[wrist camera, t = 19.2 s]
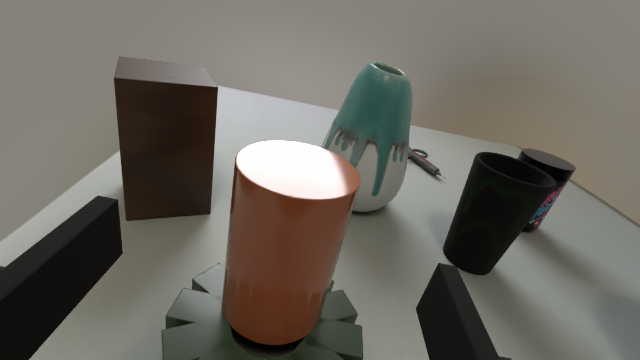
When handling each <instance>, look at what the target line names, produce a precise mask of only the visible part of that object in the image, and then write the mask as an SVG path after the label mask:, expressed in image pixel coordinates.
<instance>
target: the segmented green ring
mask: <svg viewBox="0 0 640 360" xmlns="http://www.w3.org/2000/svg"><path fill="white" fill-rule="evenodd" d="M224 274H225V267H224V266H223V265H221V264H220V263H218V264H216V265H215V266H213V267H211V268H210V269H208V270H206V271H205V272H203V273H201V274H200V275H198V276H196V277H195V278H193V279H192V290H191V289H186V288H183V289H182V290H181V292H180V294H179V295H178V297H177V299H176V300H175V302H174V303H173V305H172V307H171V308H170V310H169V312H168V313H167V315H166V329H164V330H162V360H362V359H363V341H362V326H360V325H355V324H354V323H355V321H356V318H357V315H358V314H357V312H356V310H355V309H354V307H353V306H352V304H351V302H350V301H349V299H348V298H347V296H346V294H345V293H344V291H343V290H338V291H333V292H331V290H332V287H333V284H334V281H333V280H331V284H330V287H329V290H328V294H327V297H326V300H325V304H324V307H323V310H322V314H321V317H320V319H319V322H318V323H317V325H316V326H315V328H314V329H313V330H312V331H311V332H310V333H309V334H307V335H306V336H305V337H303V338H301V339H299V340H297V343H298V346H297V347H296V348H295V349H294V350H293V351H292V352H290V353H287V354H284V355H280V356H277V357H274V358H266V357H261V356H256V355H251V354H249V353H248V352H246V351H245V350H244V349H243V348H242V347H241V346H240V345H239V344H237V343H236V342H235V341H234V338H233V333H234V332H235V330H234V329H233V328H232V326H231V325H230V324H229V322H228V321H227V319H226V317H225V315H224V312H223V308H222V295H223V285H224Z"/></svg>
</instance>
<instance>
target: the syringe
mask: <svg viewBox="0 0 640 360" xmlns="http://www.w3.org/2000/svg"><path fill="white" fill-rule="evenodd" d="M414 151H416V152H420V153H422V154H425V155H426V156H423V155H419V154H417V153H416V152H414ZM409 157H411V158H412V159H413V160H415V161H416V162H417V163H419V164H420V165H421V166H423V167H424V168H425V169H427V170H428V171H429V172H431V173H432V174H434V175H437V174H438V175H440V176H442V175H441V174H440V172H439V169H438V168H437V167H435V166H434V165H433V164H431V163H430V162H428V161H427V160H425V159H424V158H427V157H428V154H427V153H426V152H424V151H422V150H419V149H411V148H410V147H409V151H408V158H409ZM445 179H446V178H445Z"/></svg>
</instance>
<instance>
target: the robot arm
mask: <svg viewBox="0 0 640 360" xmlns="http://www.w3.org/2000/svg"><path fill="white" fill-rule="evenodd" d="M122 254H123V251H122V240H121V229H120V219H119V208H118V200H117V199H112V198H107V197H102V196H97V197H95V198H94V199H93V200H92V201H90V202H89V203H88V204H86V205H85V206H84V207H83V208H81V209H80V210H79V211H77V212H76V213H75V214H73V215H72V216H71V217H70V218H68V219H67V220H66V221H64V222H63V223H62V224H61V225H59V226H58V227H57V228H55V229H54V230H53V231H51V232H50V233H49V234H48V235H46V236H45V237H44V238H42V239H41V240H40V241H39V242H37V243H36V244H35V245H33V246H32V247H31V248H29V249H28V250H27V251H26V252H24V253H23V254H22V255H20V256H19V257H18V258H17V259H15V260H14V261H13V262H11V263H10V264H9V265H7V266H6V267H2V266H0V360H29V359H30V358H31V357H32V355H33V354H34V353H35V352H36V351H37V350H38V349H39V347H40V346H41V345H42V344H43V343H44V342H45V341H46V340H47V338H48V337H49V336H50V335H51V334H52V333H53V332H54V330H55V329H56V328H57V327H58V326H59V325H60V324H61V323H62V321H63V320H64V319H65V318H66V317H67V316H68V315H69V314H70V312H71V311H72V310H73V309H74V308H75V307H76V306H77V304H78V303H79V302H80V301H81V300H82V299H83V298H84V297H85V295H86V294H87V293H88V292H89V291H90V290H91V289H92V287H93V286H94V285H95V284H96V283H97V282H98V281H99V280H100V278H101V277H102V276H103V275H104V274H105V273H106V272H107V270H108V269H109V268H110V267H111V266H112V265H113V264H114V263H115V261H116V260H117V259H118V258H119V257H120V256H121V255H122ZM416 311H417V314H418V318H419V322H420V326H421V329H422V333H423V337H424V341H425V344H426V348H427V352H428V356H429V359H430V360H511V358H505V357H500V356H498V354H497V352H496V350H495V348H494V346H493V344H492V341H491V339H490V337H489V335H488V333H487V331H486V329H485V327H484V324H483V322H482V320H481V318H480V316H479V314H478V312H477V310H476V307H475V305H474V303H473V301H472V299H471V297H470V295H469V292H468V290H467V288H466V286H465V284H464V282H463V280H462V278H461V275H460V273H459V271H458V269H457V267H456V266H451V265H446V264H441V263H438V265H437V267H436V269H435V271H434V273H433V275H432V277H431V279H430V281H429V283H428V285H427V287H426V289H425V291H424V293H423V295H422V297H421V299H420V301H419V303H418V305H417V307H416Z"/></svg>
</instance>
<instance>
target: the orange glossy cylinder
mask: <svg viewBox="0 0 640 360" xmlns="http://www.w3.org/2000/svg"><path fill="white" fill-rule="evenodd" d="M360 183H361V178H360V175H359V173H358V171H357V170H356V168H355V167H354V166H353V165H352V164H351V163H350V162H348V161H347V160H346V159H344V158H342V157H341V156H339V155H337V154H335V153H333V152H331V151H328V150H326V149H323V148H320V147H317V146H313V145H310V144H305V143H300V142H293V141H279V140H275V141H263V142H257V143H253V144H251V145H248V146H246V147H244V148H243V149H241V150H240V151H239V152H238V154H237V156H236V158H235V167H234V177H233V188H232V199H231V210H230V220H229V231H228V242H227V252H226V263H225V274H224V285H223V295H222V308H223V312H224V315H225V317H226V319H227V321H228V322H229V324H230V325H231V326H232V328H233V329H234V330H235V331H237V332H238V333H239V334H240V335H242V336H243V337H245V338H247V339H249V340H251V341H254V342H257V343H261V344H266V345H282V344H288V343H292V342H295V341H297V340H299V339H301V338H303V337H305V336H306V335H307V334H309V333H310V332H311V331H312V330H313V329H314V328H315V326H316V325H317V323H318V322H319V319H320V317H321V314H322V310H323V307H324V304H325V300H326V297H327V294H328V290H329V287H330V284H331V280H332V277H333V274H334V270H335V267H336V264H337V260H338V257H339V254H340V250H341V247H342V244H343V240H344V237H345V234H346V230H347V227H348V224H349V220H350V217H351V214H352V210H353V207H354V204H355V200H356V197H357V194H358V190H359V187H360Z"/></svg>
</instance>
